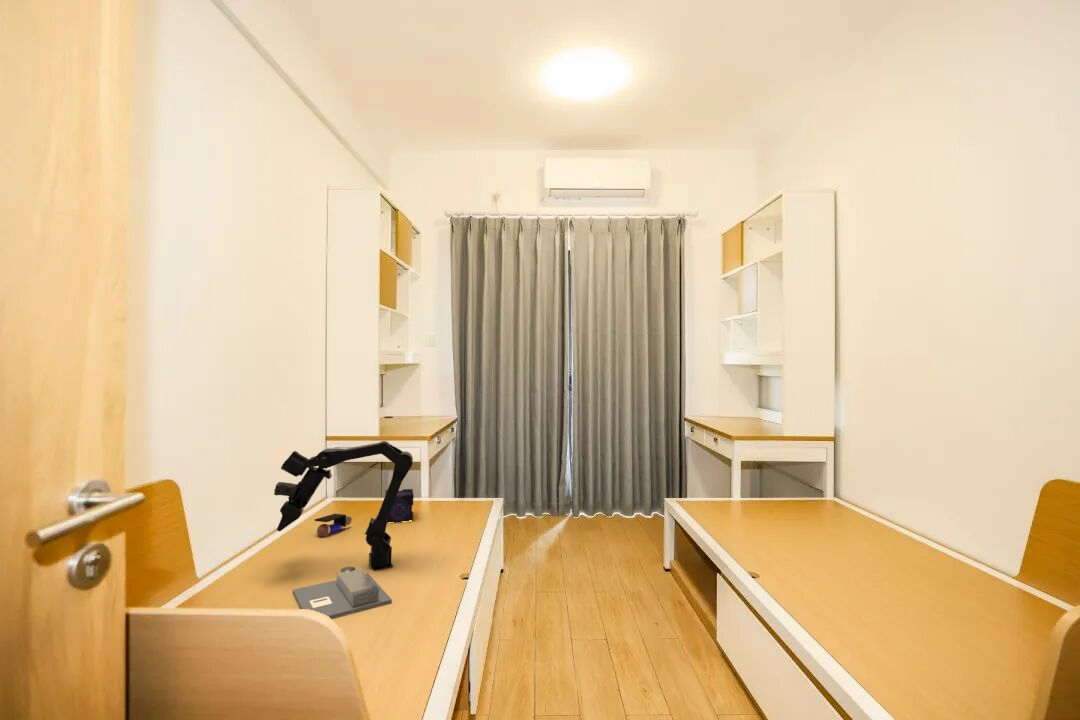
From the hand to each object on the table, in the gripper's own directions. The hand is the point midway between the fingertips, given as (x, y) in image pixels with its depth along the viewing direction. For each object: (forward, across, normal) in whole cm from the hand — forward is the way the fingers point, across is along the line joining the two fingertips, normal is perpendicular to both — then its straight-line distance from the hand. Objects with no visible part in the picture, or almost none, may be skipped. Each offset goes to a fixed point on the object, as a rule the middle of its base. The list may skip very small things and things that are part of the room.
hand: (281, 525), depth 156 cm
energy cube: (-4, -52, +41) cm, 66 cm away
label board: (+2, +24, +25) cm, 35 cm away
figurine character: (+8, -38, +18) cm, 43 cm away
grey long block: (-1, +22, +28) cm, 36 cm away
